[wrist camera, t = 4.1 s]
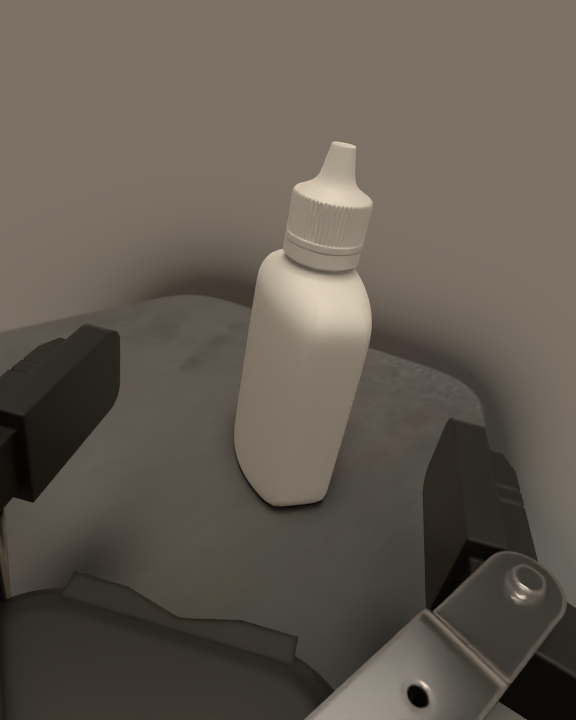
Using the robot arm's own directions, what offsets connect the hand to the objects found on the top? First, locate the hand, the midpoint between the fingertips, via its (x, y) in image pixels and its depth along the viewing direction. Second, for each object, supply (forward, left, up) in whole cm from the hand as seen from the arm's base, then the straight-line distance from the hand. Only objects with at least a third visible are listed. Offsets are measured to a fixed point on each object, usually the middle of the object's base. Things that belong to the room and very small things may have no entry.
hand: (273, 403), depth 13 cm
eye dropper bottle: (0, +6, -7) cm, 9 cm away
